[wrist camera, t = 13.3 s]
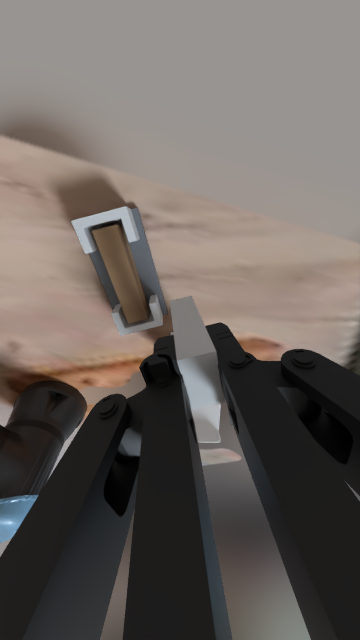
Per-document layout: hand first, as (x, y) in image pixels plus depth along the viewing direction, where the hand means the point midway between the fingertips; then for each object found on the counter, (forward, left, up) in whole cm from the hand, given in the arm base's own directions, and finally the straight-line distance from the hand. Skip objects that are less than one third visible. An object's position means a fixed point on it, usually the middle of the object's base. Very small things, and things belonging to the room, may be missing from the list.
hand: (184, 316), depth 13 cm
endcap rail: (-8, 0, -24) cm, 26 cm away
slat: (-8, 0, -23) cm, 25 cm away
